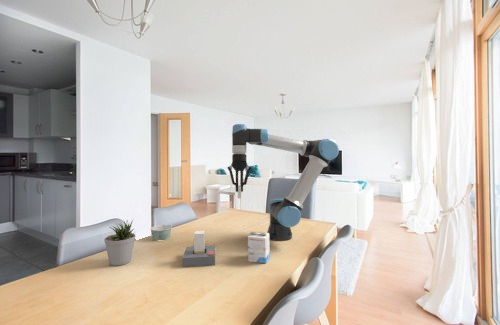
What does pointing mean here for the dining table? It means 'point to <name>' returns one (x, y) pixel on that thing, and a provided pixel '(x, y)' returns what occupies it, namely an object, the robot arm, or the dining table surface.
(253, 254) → the ink box
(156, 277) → the dining table surface
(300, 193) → the robot arm
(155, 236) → the food container
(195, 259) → the socket
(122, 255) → the potted plant
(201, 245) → the plug
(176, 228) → the dining table surface
